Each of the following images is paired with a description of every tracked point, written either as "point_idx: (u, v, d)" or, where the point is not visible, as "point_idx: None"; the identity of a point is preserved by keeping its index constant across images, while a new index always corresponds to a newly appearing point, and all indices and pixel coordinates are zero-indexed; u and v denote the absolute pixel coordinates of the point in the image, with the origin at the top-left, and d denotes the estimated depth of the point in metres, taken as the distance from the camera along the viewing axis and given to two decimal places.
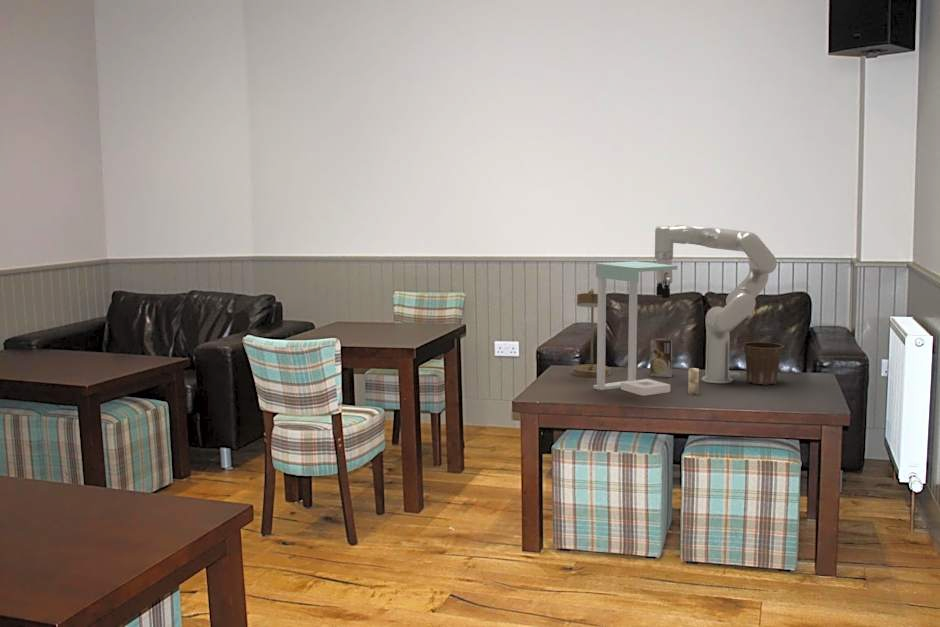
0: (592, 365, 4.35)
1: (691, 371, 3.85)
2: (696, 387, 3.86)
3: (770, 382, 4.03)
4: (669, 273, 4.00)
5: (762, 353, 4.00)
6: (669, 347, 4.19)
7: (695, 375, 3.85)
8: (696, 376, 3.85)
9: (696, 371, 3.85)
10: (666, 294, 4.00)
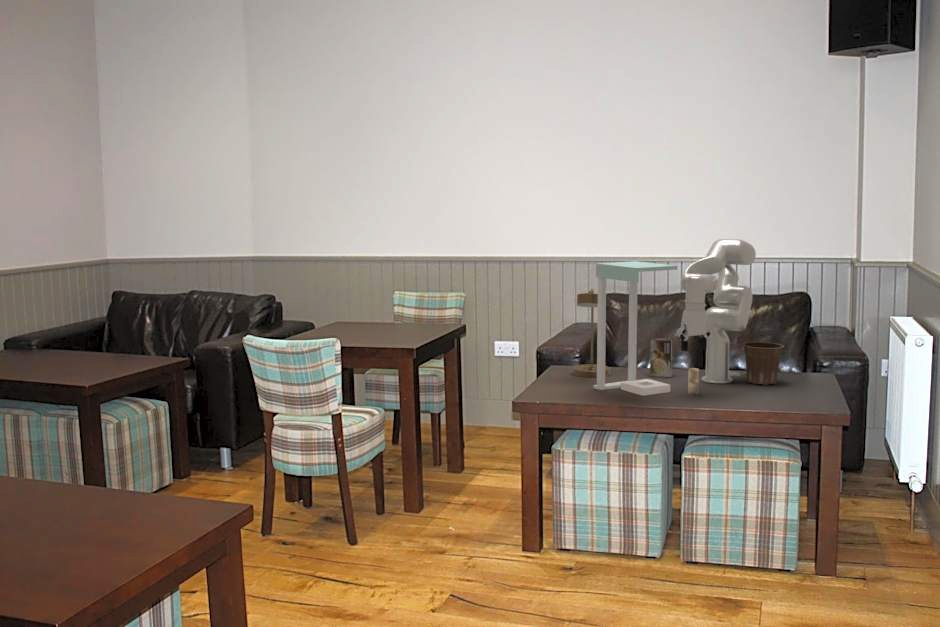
0: (592, 365, 4.35)
1: (691, 371, 3.85)
2: (696, 387, 3.86)
3: (770, 382, 4.03)
4: None
5: (762, 353, 4.00)
6: (669, 347, 4.19)
7: (695, 375, 3.85)
8: (696, 376, 3.85)
9: (696, 371, 3.85)
10: None
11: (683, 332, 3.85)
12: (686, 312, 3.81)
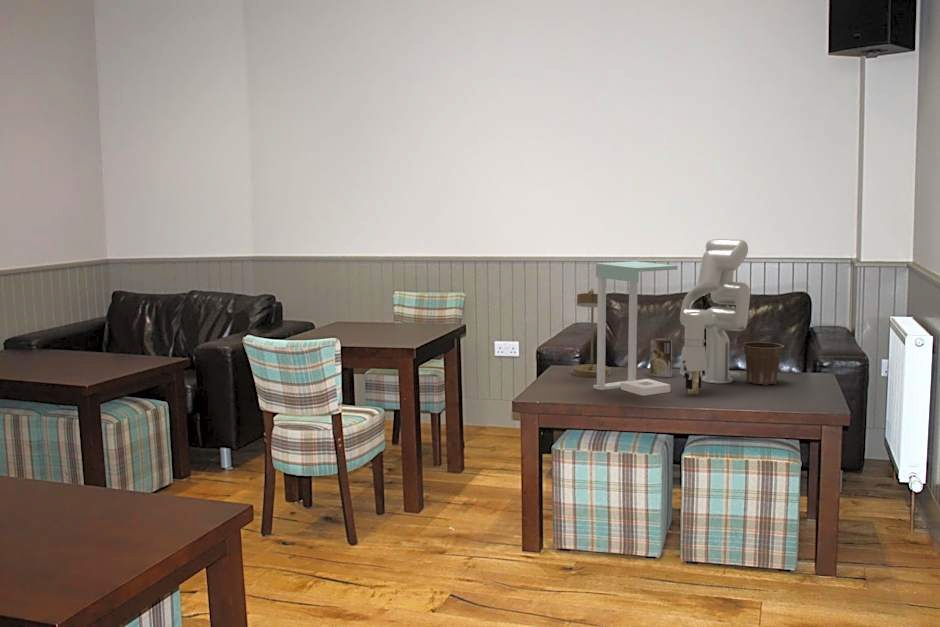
0: (592, 365, 4.35)
1: None
2: (696, 387, 3.86)
3: (770, 382, 4.03)
4: None
5: (762, 353, 4.00)
6: (668, 347, 4.19)
7: (695, 375, 3.85)
8: (696, 376, 3.85)
9: (696, 371, 3.85)
10: None
11: None
12: (685, 348, 3.83)
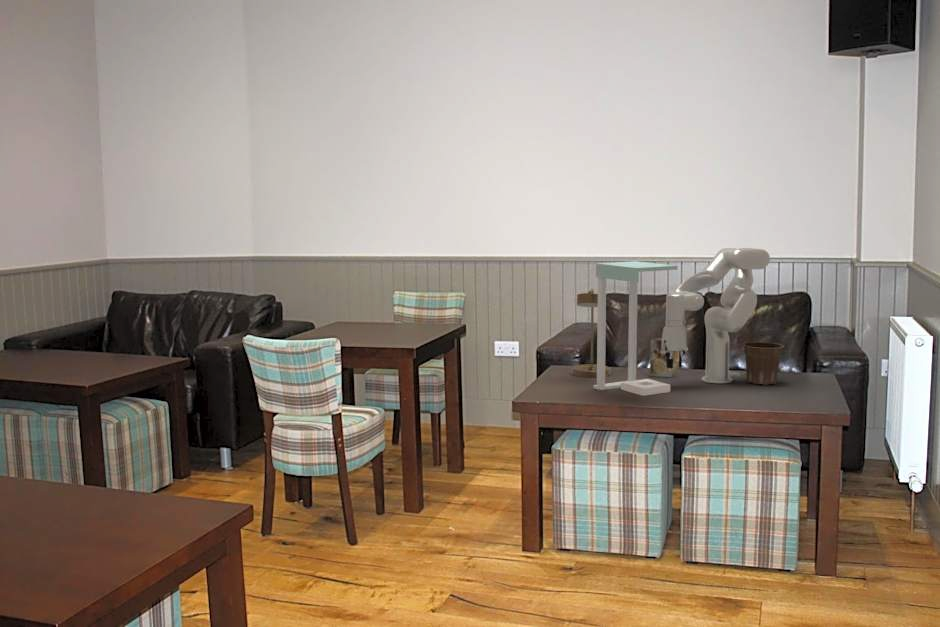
0: (592, 365, 4.35)
1: None
2: (677, 366, 3.98)
3: (770, 382, 4.03)
4: None
5: (762, 353, 4.00)
6: None
7: (675, 354, 3.97)
8: (677, 356, 3.97)
9: (677, 351, 3.97)
10: None
11: None
12: (666, 329, 3.95)
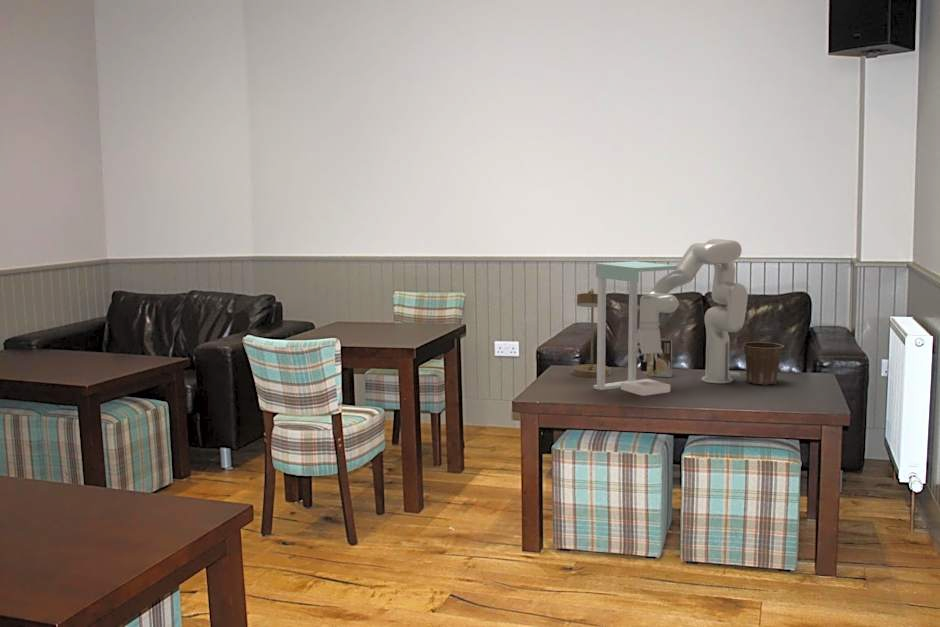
0: (592, 365, 4.35)
1: None
2: (651, 369, 3.91)
3: (770, 382, 4.03)
4: None
5: (762, 353, 4.00)
6: (669, 347, 4.19)
7: (649, 357, 3.90)
8: (651, 358, 3.91)
9: (651, 353, 3.90)
10: None
11: None
12: (640, 331, 3.89)
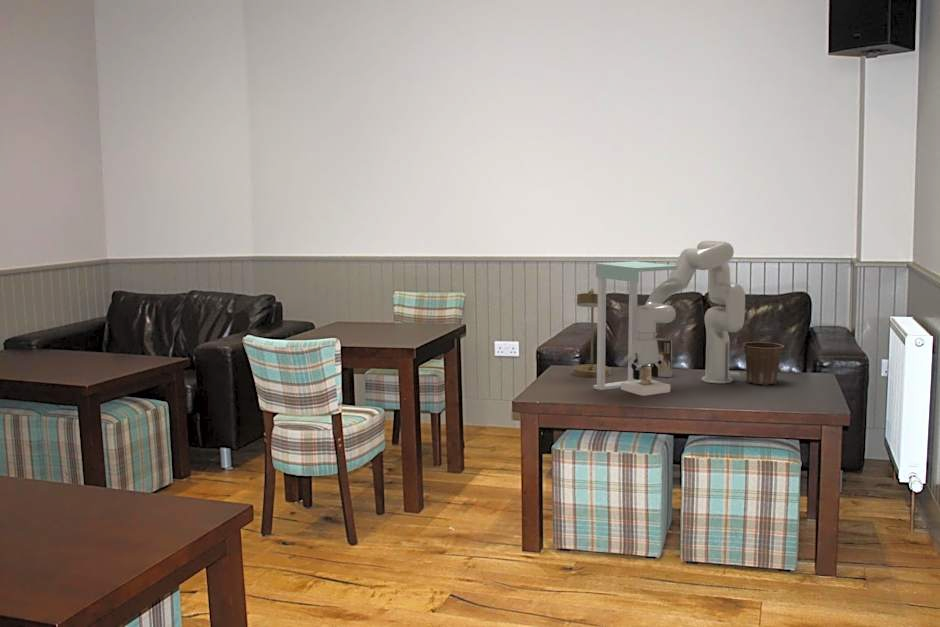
0: (592, 365, 4.35)
1: (643, 369, 3.91)
2: None
3: (770, 382, 4.03)
4: None
5: (762, 353, 4.00)
6: (669, 347, 4.19)
7: (647, 372, 3.91)
8: (648, 374, 3.91)
9: (648, 369, 3.91)
10: None
11: None
12: (637, 341, 3.89)
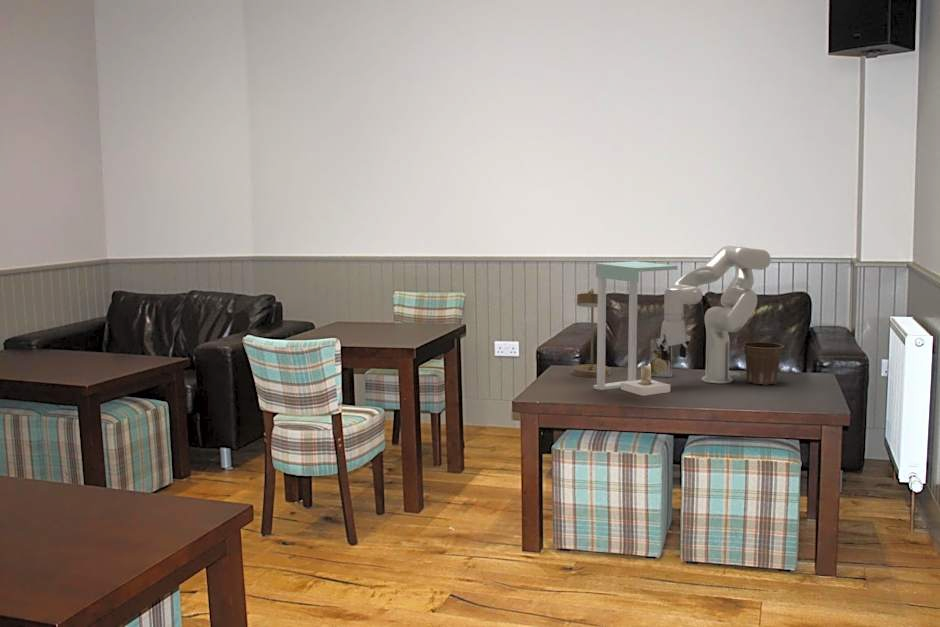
0: (592, 365, 4.35)
1: (643, 369, 3.91)
2: None
3: (770, 382, 4.03)
4: None
5: (762, 353, 4.00)
6: (669, 347, 4.19)
7: (647, 372, 3.91)
8: (648, 374, 3.91)
9: (648, 369, 3.91)
10: None
11: None
12: (665, 323, 3.95)
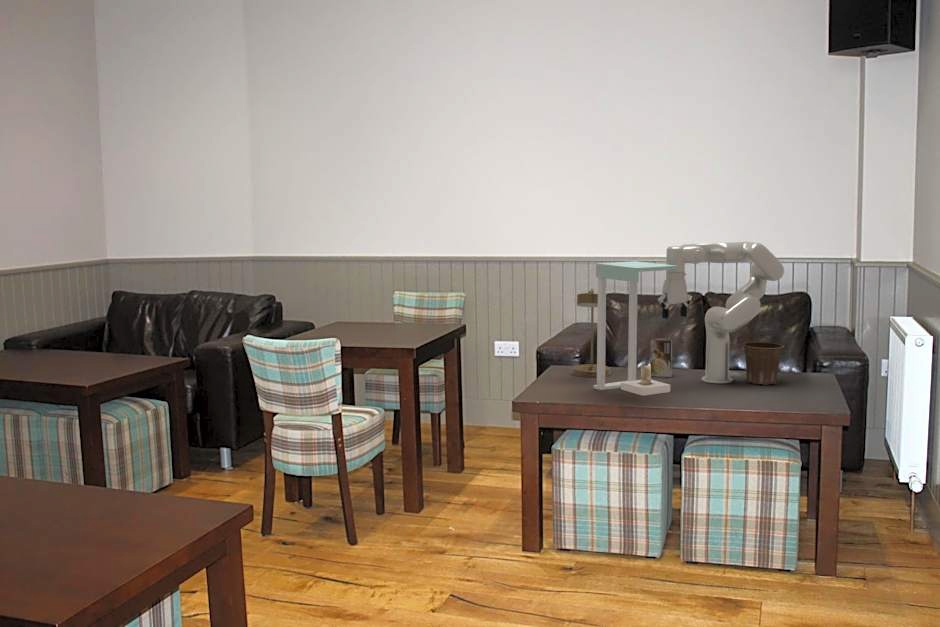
0: (592, 365, 4.35)
1: (643, 369, 3.91)
2: None
3: (770, 382, 4.03)
4: None
5: (762, 353, 4.00)
6: (669, 347, 4.19)
7: (647, 372, 3.91)
8: (648, 373, 3.91)
9: (648, 369, 3.91)
10: None
11: (664, 300, 4.02)
12: (667, 281, 3.98)
